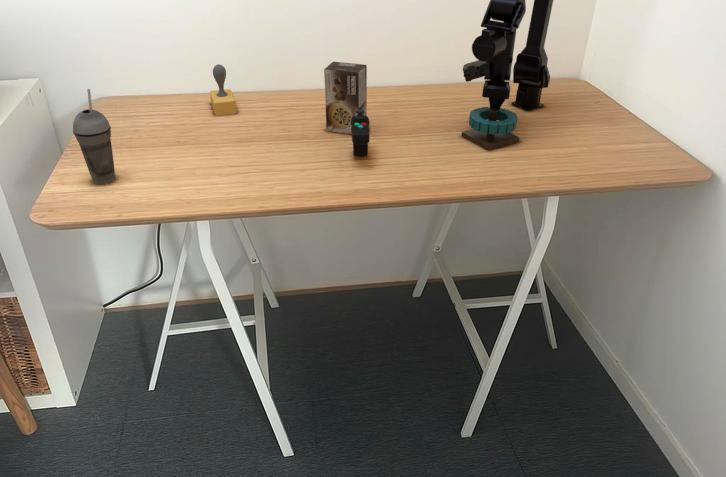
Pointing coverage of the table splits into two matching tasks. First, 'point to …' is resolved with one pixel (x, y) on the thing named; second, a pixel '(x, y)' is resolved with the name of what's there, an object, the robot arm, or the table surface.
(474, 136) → the stand
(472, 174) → the table surface
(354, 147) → the controller
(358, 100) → the coffee box
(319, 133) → the table surface
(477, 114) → the hoop
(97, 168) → the beverage cup
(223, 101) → the rubber stamp
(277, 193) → the table surface
